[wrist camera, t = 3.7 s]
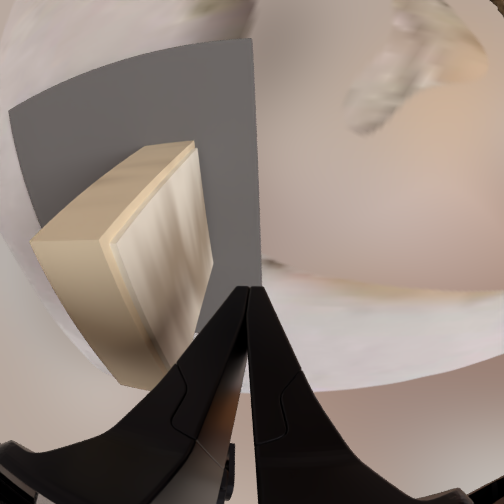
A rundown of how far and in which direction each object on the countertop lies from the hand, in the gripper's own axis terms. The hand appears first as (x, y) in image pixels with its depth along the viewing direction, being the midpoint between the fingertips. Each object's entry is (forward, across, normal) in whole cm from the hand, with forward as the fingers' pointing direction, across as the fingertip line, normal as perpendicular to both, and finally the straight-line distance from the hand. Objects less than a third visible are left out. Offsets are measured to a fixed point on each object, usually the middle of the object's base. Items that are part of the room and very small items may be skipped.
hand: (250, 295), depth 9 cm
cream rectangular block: (+6, +4, 0) cm, 7 cm away
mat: (+6, +8, +1) cm, 10 cm away
